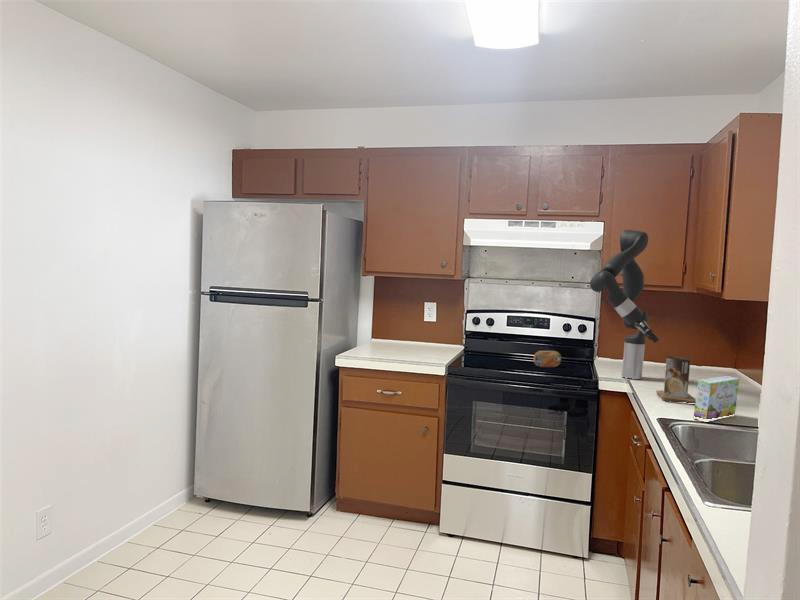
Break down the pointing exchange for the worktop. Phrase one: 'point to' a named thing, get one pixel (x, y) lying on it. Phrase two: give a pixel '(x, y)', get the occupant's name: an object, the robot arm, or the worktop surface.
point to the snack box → (716, 397)
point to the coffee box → (676, 377)
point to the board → (675, 398)
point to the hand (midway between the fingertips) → (654, 340)
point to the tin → (547, 358)
